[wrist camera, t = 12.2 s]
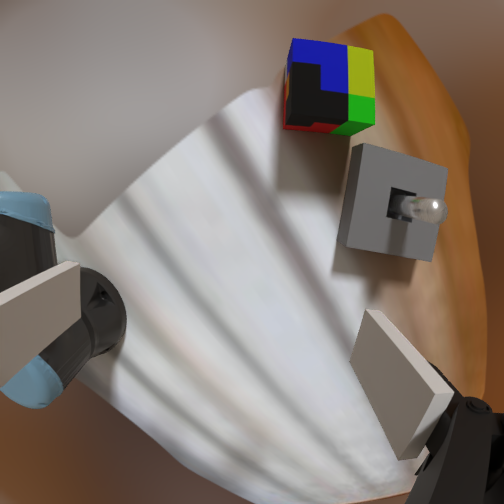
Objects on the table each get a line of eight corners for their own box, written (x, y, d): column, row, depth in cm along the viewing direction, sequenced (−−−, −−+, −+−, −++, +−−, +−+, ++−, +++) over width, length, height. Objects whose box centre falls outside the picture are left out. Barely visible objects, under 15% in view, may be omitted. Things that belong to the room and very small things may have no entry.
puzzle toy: (285, 66, 41) (292, 38, 31) (350, 74, 41) (372, 50, 31) (282, 129, 43) (290, 113, 33) (350, 136, 43) (374, 124, 33)
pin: (381, 211, 43) (425, 221, 31) (385, 192, 43) (430, 196, 30) (398, 214, 43) (445, 226, 31) (401, 196, 43) (449, 202, 30)
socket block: (336, 240, 46) (346, 246, 41) (352, 146, 43) (363, 142, 38) (416, 254, 46) (431, 262, 41) (431, 169, 43) (448, 168, 38)
